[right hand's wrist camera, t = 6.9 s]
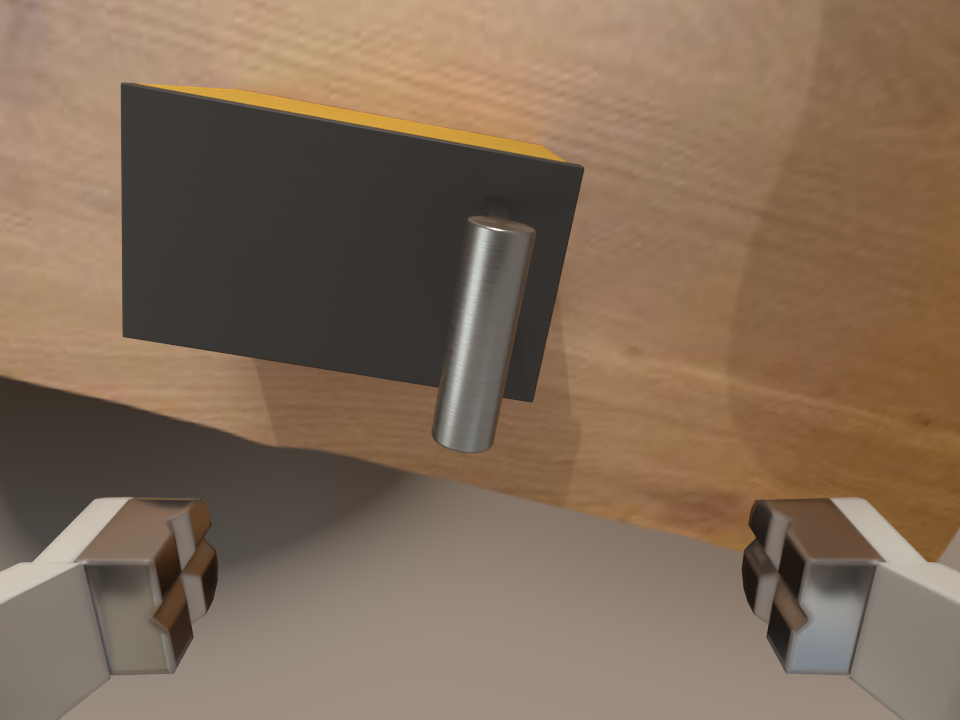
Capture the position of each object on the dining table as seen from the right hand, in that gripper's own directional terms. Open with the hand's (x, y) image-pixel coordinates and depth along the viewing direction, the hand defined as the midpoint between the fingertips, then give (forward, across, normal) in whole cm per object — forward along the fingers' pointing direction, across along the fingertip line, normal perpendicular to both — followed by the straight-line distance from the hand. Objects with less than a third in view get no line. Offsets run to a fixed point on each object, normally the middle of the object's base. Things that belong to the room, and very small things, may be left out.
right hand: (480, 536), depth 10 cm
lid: (+17, -5, +1) cm, 18 cm away
